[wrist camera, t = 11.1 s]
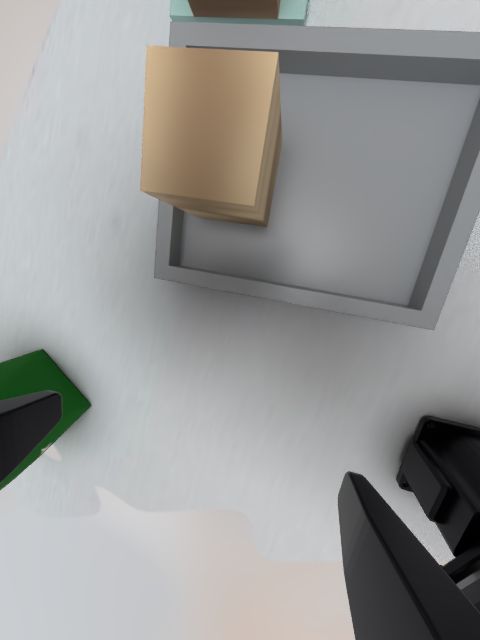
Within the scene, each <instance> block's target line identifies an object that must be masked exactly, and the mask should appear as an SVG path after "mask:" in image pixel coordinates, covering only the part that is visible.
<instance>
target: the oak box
mask: <svg viewBox="0 0 480 640" xmlns="http://www.w3.org/2000/svg"><path fill="white" fill-rule="evenodd" d="M281 147H282V124H281V100H280V76H279V52H265V51H244V50H224V49H203V48H183V47H163V46H147V55H146V77H145V99H144V121H143V143H142V165H141V187H140V190H141V191H143V192H145V193H147V194H149V195H151V196H153V197H156V198H158V199H160V200H162V201H164V202H166V203H168V204H170V205H173V206H175V207H177V208H179V209H181V210H183V211H185V212H187V213H190V214H192V215H194V216H196V217H201V218H207V219H214V220H221V221H228V222H234V223H241V224H248V225H255V226H262V227H267V226H268V221H269V215H270V209H271V204H272V198H273V192H274V187H275V181H276V175H277V170H278V164H279V158H280V152H281Z"/></svg>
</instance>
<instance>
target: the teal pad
mask: <svg viewBox="0 0 480 640" xmlns="http://www.w3.org/2000/svg"><path fill="white" fill-rule="evenodd" d="M308 1H309V0H281V1H280V8H279V15H278V19H263V18H222V17H194V16H193V13H192V10H191V8H190V5H189V3H188V0H171V3H170V17H171V19H172V21H173V22H198V23H227V24H257V25H286V26H304V24H305V18H306V12H307V7H308Z"/></svg>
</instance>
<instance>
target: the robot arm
mask: <svg viewBox="0 0 480 640" xmlns="http://www.w3.org/2000/svg"><path fill="white" fill-rule="evenodd" d="M61 418H62V396H61V394H60V393H58V392H54V391H50V390H45V391H41V392H36V393H32V394H28V395H23V396H19V397H15V398H10V399H6V400H2V401H0V483H1V482H2V481H3V480H4V479H5V478H6V477H7V476H9V475H10V474H11V473H12V472H13V471H14V470H15V469H16V468H17V467H18V466H19V465H20V464H21V463H22V462H23V461H24V460H25V459H26V457H27V456H28V455H29V454H30V453H31V452H32V451H33V450H34V449H35V448H36V447H37V446H38V445H39V443H40V442H41V441H42V440H43V439H44V438H45V437H46V436H47V435H48V434H49V433H50V432H51V430H52V429H53V428H54V427H55V426H56V425H57V424H58V423H59V422H60V420H61ZM429 423H432V424H431V425H428V424H429ZM403 482H406V483H403ZM397 483H398V485H399V487H400V488H401V489H403V490H407V491H411V492H414V494H415V496H416V498H417V499H418V501H419V503H420V505H421V507H422V509H423V510H424V512H425V514H426V516H427V517H428V519H429V520H430V521H432V522H435V523H436V525H437V527H438V529H439V530H440V532H441V534H442V536H443V537H444V539H445V541H446V543H447V545H448V546H449V548H450V550H451V552H452V553H453V555H454V556H455V558H454V559H452V560H451V561H449V562H448V563H447V564H445V565H444V566H442V565H439V564H438V563H437V561H436V560H435V559H434V558H433V557H432V556H431V554H430V553H429V552H428V551H427V550H426V549H425V547H424V546H423V545H422V544H421V543H420V541H419V540H418V539H417V538H416V537H415V536H414V534H413V533H412V532H411V531H410V530H409V528H408V527H407V526H406V525H405V524H404V523H403V521H402V520H401V519H400V518H399V517H398V516H397V514H396V513H395V512H394V511H393V510H392V508H391V507H390V506H389V505H388V504H387V503H386V501H385V500H384V499H383V498H382V497H381V496H380V494H379V493H378V492H377V491H376V490H375V488H374V487H373V486H372V485H371V484H370V483H369V481H368V480H367V479H366V478H365V477H364V476H363V475H361V474H357V473H354V472H350V471H349V472H347V473H346V474H345V476H344V479H343V482H342V485H341V488H340V491H339V494H338V511H339V522H340V534H341V546H342V557H343V567H344V575H345V582H346V588H347V593H348V599H349V605H350V611H351V617H352V622H353V628H354V634H355V639H356V640H480V428H477V427H472V426H468V425H464V424H459V423H455V422H451V421H446V420H442V419H438V418H434V417H424V418H423V419H422V420H421V421H420V424H419V426H418V429H417V431H416V433H415V436H414V438H413V441H412V442H411V443H410V445H409V447H408V450H407V452H406V455H405V457H404V460H403V462H402V465H401V470H400V472H399V475H398V477H397Z"/></svg>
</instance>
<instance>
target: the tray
mask: <svg viewBox="0 0 480 640" xmlns="http://www.w3.org/2000/svg"><path fill="white" fill-rule="evenodd" d="M169 47H183V48H203V49H224V50H244V51H265V52H279V76H280V100H281V124H282V147H281V152H280V158H279V164H278V170H277V175H276V181H275V187H274V192H273V198H272V204H271V209H270V215H269V221H268V226H267V227H262V226H255V225H248V224H241V223H234V222H228V221H221V220H214V219H207V218H201V217H196V216H194V215H192V214H190V213H187V212H185V211H183V210H181V209H179V208H177V207H175V206H173V205H170V204H168V203H166V202H164V201H162V200H160V199H159V208H158V224H157V239H156V255H155V270H154V278H158V279H163V280H168V281H174V282H179V283H184V284H190V285H195V286H200V287H206V288H211V289H216V290H222V291H227V292H232V293H238V294H243V295H248V296H254V297H259V298H264V299H270V300H275V301H280V302H286V303H291V304H296V305H302V306H307V307H312V308H318V309H323V310H328V311H334V312H339V313H344V314H350V315H355V316H360V317H366V318H371V319H376V320H382V321H387V322H392V323H398V324H403V325H408V326H414V327H419V328H424V329H430V330H434V328H435V325H436V323H437V320H438V318H439V315H440V312H441V310H442V307H443V305H444V302H445V299H446V297H447V294H448V292H449V289H450V286H451V284H452V281H453V279H454V276H455V273H456V271H457V268H458V266H459V263H460V260H461V258H462V255H463V253H464V250H465V247H466V245H467V242H468V240H469V237H470V234H471V232H472V229H473V227H474V224H475V221H476V219H477V216H478V214H479V211H480V32H462V31H433V30H403V29H374V28H345V27H315V26H286V25H257V24H227V23H198V22H170V37H169Z"/></svg>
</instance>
